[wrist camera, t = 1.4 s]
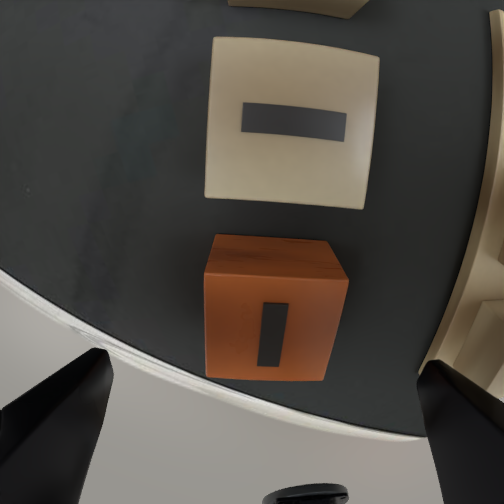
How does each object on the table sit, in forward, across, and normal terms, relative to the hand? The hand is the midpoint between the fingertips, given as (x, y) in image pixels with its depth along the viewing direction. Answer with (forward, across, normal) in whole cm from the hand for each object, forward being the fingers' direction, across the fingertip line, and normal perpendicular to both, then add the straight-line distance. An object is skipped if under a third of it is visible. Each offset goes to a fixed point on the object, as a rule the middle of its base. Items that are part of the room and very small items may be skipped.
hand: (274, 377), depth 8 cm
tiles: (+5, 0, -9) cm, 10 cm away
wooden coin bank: (+5, 0, 0) cm, 5 cm away
